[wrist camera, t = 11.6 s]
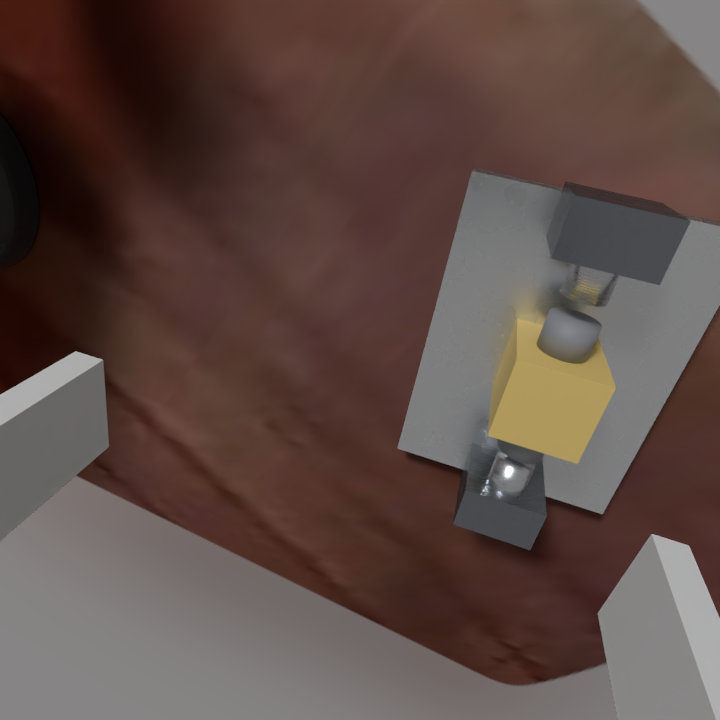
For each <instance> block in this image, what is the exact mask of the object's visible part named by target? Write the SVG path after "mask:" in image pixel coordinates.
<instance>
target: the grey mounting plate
mask: <svg viewBox="0 0 720 720" xmlns="http://www.w3.org/2000/svg"><path fill="white" fill-rule="evenodd" d="M719 305H720V222H717V221H713V220H708V219H704V218H699V217H695V216H690V215H686V214H681V213H677V212H676V211H674V210H672V209H671V208H669V207H668V206H666V205H664V204H663V203H660V202H656V201H651V200H647V199H642V198H638V197H633V196H629V195H624V194H619V193H615V192H610V191H606V190H601V189H597V188H592V187H588V186H583V185H579V184H574V183H570V182H565V185H564V187H560V186H556V185H551V184H547V183H542V182H538V181H533V180H529V179H524V178H520V177H515V176H511V175H506V174H502V173H497V172H493V171H488V170H484V169H479V168H474V169H473V170H472V173H471V177H470V181H469V184H468V188H467V192H466V196H465V199H464V203H463V207H462V210H461V214H460V218H459V222H458V225H457V229H456V233H455V236H454V240H453V244H452V248H451V251H450V255H449V259H448V263H447V266H446V270H445V274H444V277H443V281H442V285H441V289H440V292H439V296H438V300H437V303H436V307H435V311H434V315H433V318H432V322H431V326H430V329H429V333H428V337H427V341H426V344H425V348H424V352H423V355H422V359H421V363H420V367H419V370H418V374H417V378H416V381H415V385H414V389H413V393H412V396H411V400H410V404H409V407H408V411H407V415H406V419H405V422H404V426H403V430H402V434H401V437H400V441H399V445H398V448H397V449H400V450H404V451H407V452H410V453H413V454H416V455H419V456H422V457H425V458H428V459H432V460H435V461H438V462H441V463H444V464H447V465H450V466H453V467H456V468H460V469H463V471H462V473H461V478H460V484H459V490H458V497H457V503H456V509H455V515H454V522H453V524H454V525H457V526H460V527H463V528H466V529H469V530H472V531H475V532H477V533H480V534H483V535H486V536H489V537H492V538H495V539H498V540H501V541H504V542H507V543H510V544H513V545H516V546H519V547H522V548H525V549H527V550H531V548H532V546H533V544H534V542H535V539H536V537H537V535H538V533H539V531H540V529H541V527H542V525H543V523H544V521H545V519H546V517H547V513H546V499H545V496H547V497H550V498H553V499H556V500H559V501H562V502H565V503H569V504H572V505H575V506H578V507H581V508H584V509H587V510H590V511H593V512H597V513H600V514H603V513H604V511H605V509H606V507H607V505H608V504H609V502H610V500H611V498H612V496H613V495H614V493H615V491H616V489H617V488H618V486H619V484H620V482H621V480H622V479H623V477H624V475H625V473H626V471H627V470H628V468H629V466H630V464H631V463H632V461H633V459H634V457H635V455H636V454H637V452H638V450H639V448H640V446H641V445H642V443H643V441H644V439H645V438H646V436H647V434H648V432H649V430H650V429H651V427H652V425H653V423H654V421H655V420H656V418H657V416H658V414H659V412H660V411H661V409H662V407H663V405H664V404H665V402H666V400H667V398H668V396H669V395H670V393H671V391H672V389H673V387H674V386H675V384H676V382H677V380H678V379H679V377H680V375H681V373H682V371H683V370H684V368H685V366H686V364H687V362H688V361H689V359H690V357H691V355H692V354H693V352H694V350H695V348H696V346H697V345H698V343H699V341H700V339H701V337H702V336H703V334H704V332H705V330H706V329H707V327H708V325H709V323H710V321H711V320H712V318H713V316H714V314H715V312H716V311H717V309H718V307H719ZM554 307H561V308H568V309H572V310H576V311H579V312H582V313H584V314H587V315H589V316H591V317H593V318H594V319H596V320H597V321H599V322H600V323H601V325H602V329H601V331H600V334H599V336H598V338H597V340H598V341H600V344H601V346H602V349H603V352H604V355H605V358H606V361H607V363H608V366H609V369H610V372H611V375H612V378H613V380H614V383H615V386H616V389H615V391H614V393H613V395H612V397H611V399H610V401H609V403H608V405H607V407H606V409H605V411H604V413H603V415H602V417H601V419H600V421H599V423H598V425H597V427H596V429H595V431H594V433H593V434H592V436H591V438H590V440H589V442H588V444H587V446H586V448H585V450H584V452H583V454H582V456H581V458H580V460H579V462H578V464H576V463H573V462H569V461H566V460H563V459H560V458H557V457H553V456H550V455H547V454H544V456H543V458H542V460H541V461H540V462H539V463H536V464H525V463H521V462H518V461H515V460H513V459H511V458H510V457H508V456H507V455H505V454H504V453H503V452H502V451H501V450H500V448H499V446H498V439H496V438H493V437H490V436H488V425H489V415H490V405H491V395H492V386H493V383H494V380H495V377H496V375H497V372H498V369H499V366H500V364H501V361H502V358H503V355H504V353H505V350H506V347H507V344H508V342H509V339H510V336H511V334H512V331H513V328H514V325H515V323H516V320H517V318H518V319H521V320H525V321H529V322H532V323H536V324H540V325H544V322H545V320H546V317H547V315H548V312H549V310H550V309H551V308H554Z"/></svg>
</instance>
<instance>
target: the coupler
mask: <svg viewBox="0 0 720 720" xmlns="http://www.w3.org/2000/svg"><path fill="white" fill-rule="evenodd" d="M601 329H602V325H601V323H600V322H599V321H597V320H596V319H594V318H593V317H591V316H589V315H587V314H584V313H582V312H579V311H576V310H572V309H568V308H561V307H554V308H551V309H550V310H549V312H548V315H547V317H546V320H545V322H544V325H540V324H536V323H532V322H529V321H525V320H521V319H518V318H517V320H516V323H515V325H514V328H513V331H512V334H511V336H510V339H509V342H508V344H507V347H506V350H505V353H504V355H503V358H502V361H501V364H500V366H499V369H498V372H497V375H496V377H495V380H494V383H493V386H492V395H491V405H490V415H489V425H488V436H490V437H493V438H496V439H498V446H499V448H500V450H501V451H502V452H503V453H504V454H505V455H507V456H508V457H510V458H511V459H513V460H515V461H518V462H521V463H525V464H536V463H539V462H540V461H541V460H542V458H543V456H544V454H547V455H550V456H553V457H557V458H560V459H563V460H566V461H569V462H573V463H576V464H578V462H579V460H580V458H581V456H582V454H583V452H584V450H585V448H586V446H587V444H588V442H589V440H590V438H591V436H592V434H593V433H594V431H595V429H596V427H597V425H598V423H599V421H600V419H601V417H602V415H603V413H604V411H605V409H606V407H607V405H608V403H609V401H610V399H611V397H612V395H613V393H614V391H615V389H616V386H615V383H614V380H613V378H612V375H611V372H610V369H609V366H608V363H607V361H606V358H605V355H604V352H603V349H602V346H601V344H600V341H598V340H597V338H598V336H599V334H600V331H601Z"/></svg>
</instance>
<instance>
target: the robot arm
mask: <svg viewBox="0 0 720 720" xmlns="http://www.w3.org/2000/svg"><path fill="white" fill-rule="evenodd" d="M38 220H39V205H38V196H37V190H36V185H35V181H34V177H33V174H32V171H31V168H30V165H29V163H28V160H27V158H26V155H25V153H24V151H23V149H22V147H21V145H20V143H19V141H18V140H17V138H16V136H15V134H14V133H13V131H12V130H11V128H10V127H9V125H8V124H7V122H6V121H5V120H4V118H3V117H2V116H1V114H0V269H3V268H6V267H9V266H12V265H14V264H16V263H17V262H19V261H20V260H21V259H22V258H23V257H24V256H25V255H26V254H27V253H28V251H29V250H30V248H31V246H32V244H33V242H34V239H35V236H36V233H37V228H38ZM108 447H109V440H108V425H107V409H106V394H105V379H104V364H103V360H102V359H99V358H96V357H93V356H89V355H86V354H83V353H80V352H77V351H75V352H73V353H72V354H70V355H68V356H66V357H65V358H63V359H61V360H60V361H58V362H56V363H54V364H53V365H51V366H49V367H47V368H46V369H44V370H42V371H41V372H39V373H37V374H35V375H34V376H32V377H30V378H28V379H27V380H25V381H23V382H21V383H20V384H18V385H16V386H15V387H13V388H11V389H9V390H8V391H6V392H4V393H2V394H1V395H0V541H1V540H2V539H3V538H4V537H6V536H7V535H8V534H9V533H10V532H11V531H12V530H14V529H15V528H16V527H17V526H18V525H20V524H21V523H22V522H23V521H24V520H25V519H26V518H27V517H29V516H30V515H31V514H32V513H33V512H34V511H36V510H37V509H38V508H39V507H40V506H41V505H43V504H44V503H45V502H46V501H47V500H48V499H49V498H51V497H52V496H53V495H54V494H55V493H56V492H57V491H58V490H60V489H61V488H62V487H63V486H64V485H65V484H67V483H68V482H69V481H70V480H71V479H72V478H73V477H75V476H76V475H77V474H78V473H79V472H80V471H82V470H83V469H84V468H85V467H86V466H87V465H89V464H90V463H91V462H92V461H93V460H94V459H95V458H97V457H98V456H99V455H100V454H101V453H102V452H103V451H105V450H106V449H107V448H108ZM598 618H599V623H600V628H601V634H602V639H603V644H604V650H605V655H606V661H607V666H608V671H609V677H610V682H611V687H612V692H613V698H614V704H615V709H616V714H617V720H720V618H719V616H718V613H717V611H716V609H715V606H714V604H713V602H712V599H711V597H710V594H709V592H708V590H707V587H706V585H705V583H704V580H703V578H702V576H701V573H700V571H699V568H698V566H697V564H696V561H695V559H694V557H693V554H692V552H691V549H690V547H689V546H688V545H685V544H682V543H679V542H676V541H673V540H670V539H666V538H663V537H660V536H657V535H654V534H651V536H650V537H649V539H648V540H647V541H646V543H645V544H644V546H643V547H642V549H641V550H640V552H639V553H638V555H637V556H636V558H635V559H634V561H633V562H632V564H631V565H630V567H629V568H628V569H627V571H626V572H625V574H624V575H623V577H622V578H621V580H620V581H619V583H618V584H617V586H616V587H615V589H614V590H613V592H612V593H611V595H610V596H609V597H608V599H607V600H606V602H605V603H604V605H603V606H602V608H601V609H600V611H599V612H598Z"/></svg>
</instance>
